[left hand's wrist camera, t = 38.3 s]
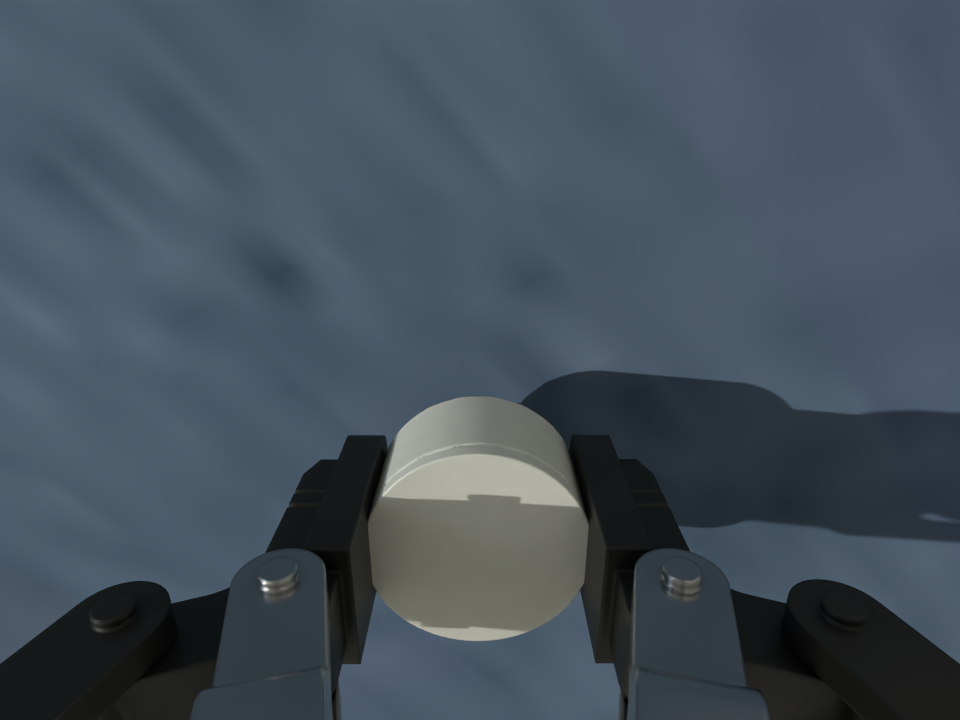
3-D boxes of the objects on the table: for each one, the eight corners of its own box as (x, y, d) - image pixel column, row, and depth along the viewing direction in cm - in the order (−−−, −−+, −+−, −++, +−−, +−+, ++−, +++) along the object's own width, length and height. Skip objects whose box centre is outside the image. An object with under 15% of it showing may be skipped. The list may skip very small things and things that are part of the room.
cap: (597, 529, 13) (619, 608, 11) (424, 579, 13) (414, 664, 11) (540, 367, 12) (553, 423, 9) (350, 430, 12) (323, 496, 10)
